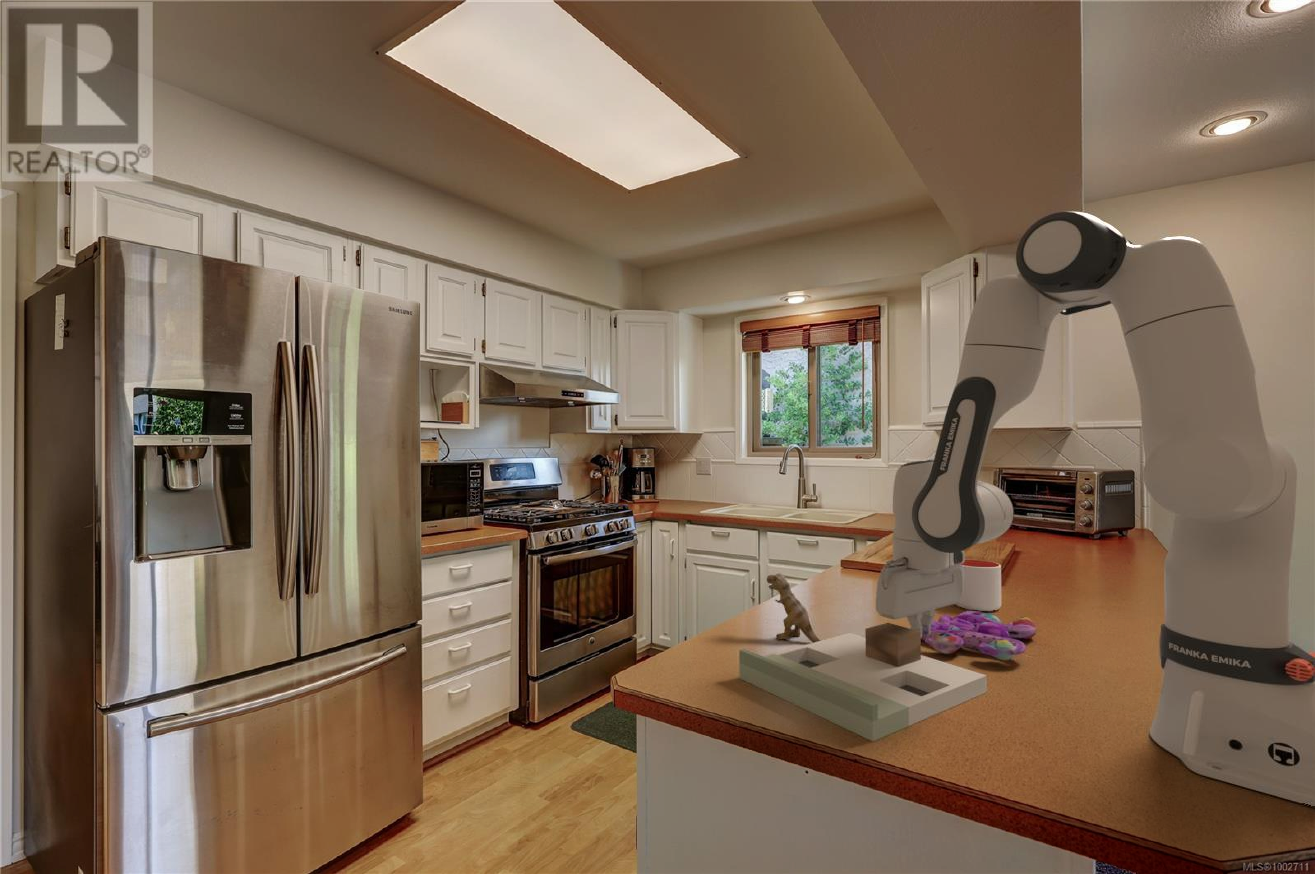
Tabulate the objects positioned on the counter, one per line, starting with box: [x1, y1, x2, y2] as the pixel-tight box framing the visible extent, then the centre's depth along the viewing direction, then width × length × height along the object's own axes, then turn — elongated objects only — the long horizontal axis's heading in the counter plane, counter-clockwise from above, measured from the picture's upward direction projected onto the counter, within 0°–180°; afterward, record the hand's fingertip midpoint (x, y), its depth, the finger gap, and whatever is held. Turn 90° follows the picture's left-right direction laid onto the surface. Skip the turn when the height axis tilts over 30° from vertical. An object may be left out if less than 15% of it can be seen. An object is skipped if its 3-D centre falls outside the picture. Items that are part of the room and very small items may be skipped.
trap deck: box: [738, 632, 988, 742], centre depth 94 cm, size 25×27×4 cm
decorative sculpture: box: [921, 610, 1037, 661], centre depth 114 cm, size 29×5×20 cm
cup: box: [954, 558, 1002, 612], centre depth 139 cm, size 10×10×10 cm
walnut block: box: [864, 622, 922, 667], centre depth 99 cm, size 6×6×4 cm
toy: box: [766, 572, 822, 643], centre depth 116 cm, size 7×17×10 cm
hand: (920, 636), depth 103 cm, fingers closed
